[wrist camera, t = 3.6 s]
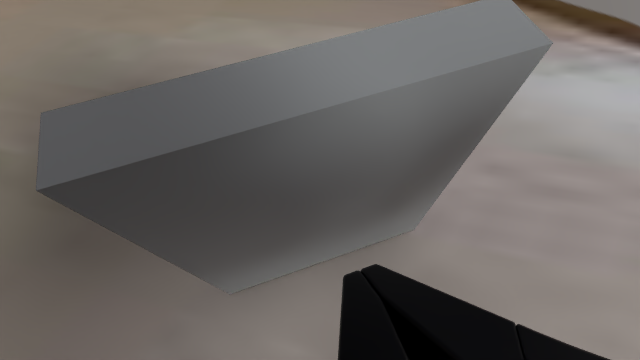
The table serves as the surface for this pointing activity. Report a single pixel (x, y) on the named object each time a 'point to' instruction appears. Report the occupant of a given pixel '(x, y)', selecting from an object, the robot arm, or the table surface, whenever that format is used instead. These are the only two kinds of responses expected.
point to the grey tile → (292, 144)
